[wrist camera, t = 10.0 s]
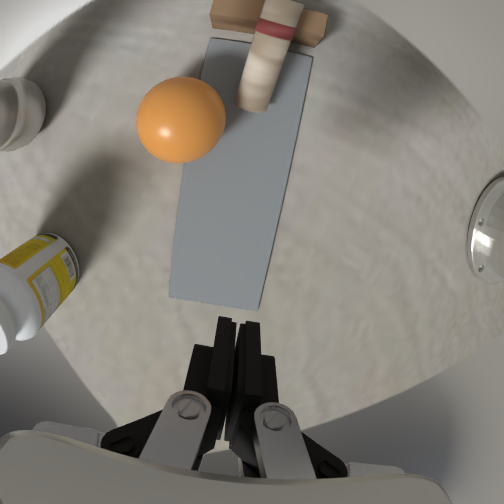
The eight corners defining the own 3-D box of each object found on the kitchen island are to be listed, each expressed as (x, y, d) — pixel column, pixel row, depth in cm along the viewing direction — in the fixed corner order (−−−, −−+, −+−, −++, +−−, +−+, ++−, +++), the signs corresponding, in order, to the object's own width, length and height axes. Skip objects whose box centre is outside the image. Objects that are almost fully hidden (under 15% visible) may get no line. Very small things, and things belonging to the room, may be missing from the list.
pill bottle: (21, 249, 24) (-52, 304, 13) (57, 218, 23) (-26, 270, 12) (55, 301, 26) (-4, 371, 15) (94, 276, 25) (31, 353, 15)
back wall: (317, 27, 19) (327, 14, 16) (313, 47, 19) (323, 36, 17) (218, 8, 18) (215, -8, 15) (212, 28, 18) (209, 14, 16)
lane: (311, 58, 20) (312, 57, 20) (257, 309, 27) (257, 310, 27) (210, 38, 19) (209, 38, 19) (169, 295, 26) (168, 297, 26)
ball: (149, 101, 13) (231, 162, 17) (190, 45, 16) (253, 100, 19) (107, 146, 18) (175, 189, 21) (144, 89, 20) (200, 131, 23)
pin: (266, 103, 21) (301, 3, 15) (268, 116, 20) (308, 5, 13) (234, 95, 21) (265, -7, 14) (233, 108, 19) (268, -6, 13)
